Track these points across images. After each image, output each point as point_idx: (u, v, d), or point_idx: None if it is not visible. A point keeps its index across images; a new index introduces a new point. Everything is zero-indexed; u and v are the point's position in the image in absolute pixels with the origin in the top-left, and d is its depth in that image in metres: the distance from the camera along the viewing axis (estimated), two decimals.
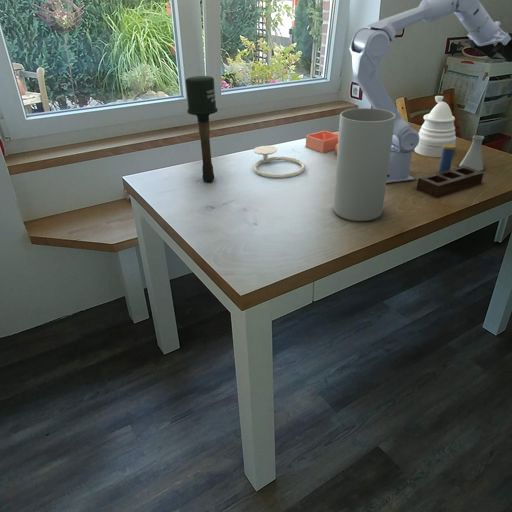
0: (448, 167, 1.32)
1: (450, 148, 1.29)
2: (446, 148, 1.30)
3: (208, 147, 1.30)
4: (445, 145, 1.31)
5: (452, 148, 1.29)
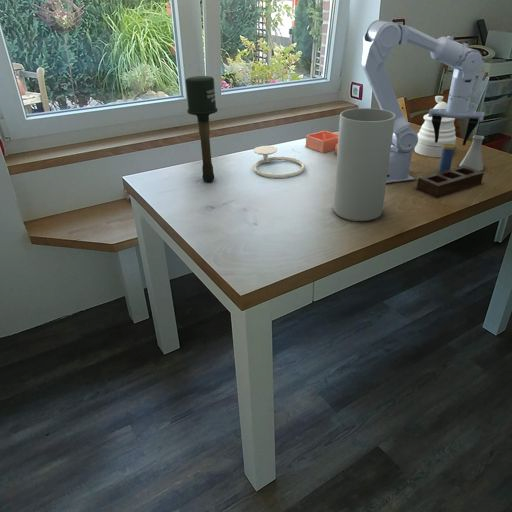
0: (448, 167, 1.32)
1: (450, 148, 1.29)
2: (446, 148, 1.30)
3: (208, 147, 1.30)
4: (445, 145, 1.31)
5: (452, 148, 1.29)
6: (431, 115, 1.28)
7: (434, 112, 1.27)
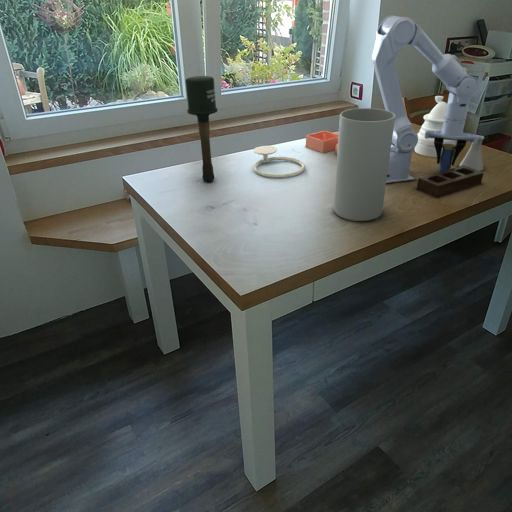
0: (448, 167, 1.33)
1: (450, 148, 1.29)
2: (446, 148, 1.30)
3: (208, 147, 1.30)
4: (445, 145, 1.31)
5: (452, 148, 1.29)
6: (427, 137, 1.31)
7: (430, 134, 1.30)
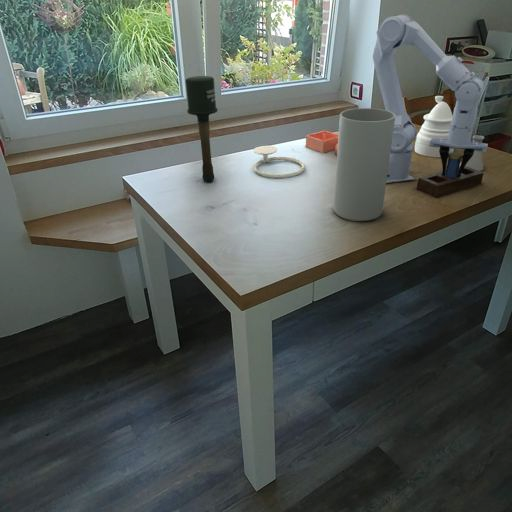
0: (454, 177, 1.24)
1: (456, 157, 1.21)
2: (452, 157, 1.21)
3: (208, 147, 1.30)
4: (451, 154, 1.22)
5: (459, 157, 1.21)
6: (432, 145, 1.23)
7: (435, 142, 1.22)
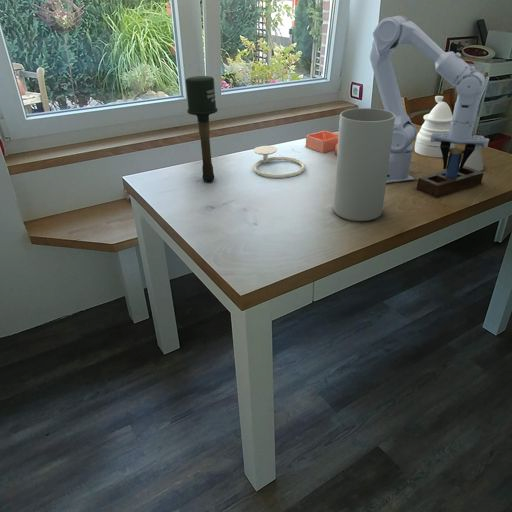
0: (455, 173, 1.23)
1: (458, 153, 1.20)
2: (453, 153, 1.20)
3: (208, 147, 1.30)
4: (452, 149, 1.21)
5: (460, 153, 1.20)
6: (433, 140, 1.22)
7: (436, 137, 1.21)
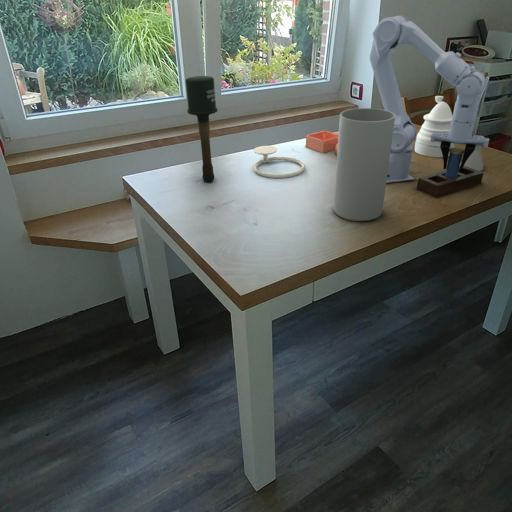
0: (455, 173, 1.23)
1: (458, 152, 1.20)
2: (453, 152, 1.20)
3: (208, 147, 1.30)
4: (452, 149, 1.21)
5: (460, 152, 1.20)
6: (433, 140, 1.22)
7: (436, 137, 1.21)
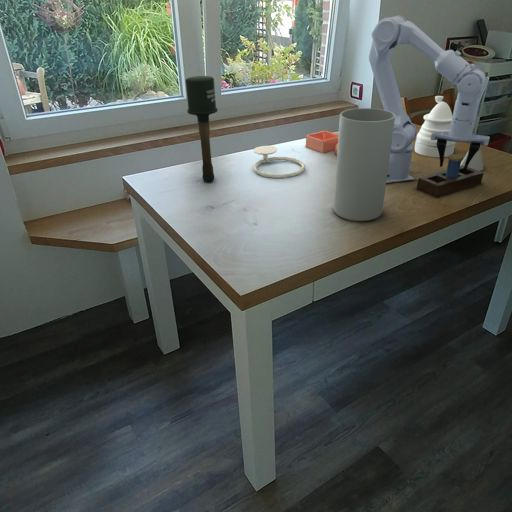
0: None
1: (457, 159, 1.21)
2: (452, 159, 1.21)
3: (208, 147, 1.30)
4: (451, 156, 1.22)
5: (459, 159, 1.21)
6: (433, 138, 1.22)
7: (437, 135, 1.21)
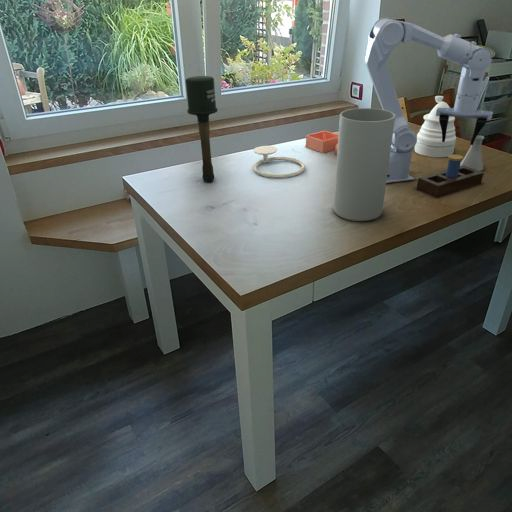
0: None
1: (457, 159, 1.21)
2: (452, 159, 1.21)
3: (208, 147, 1.30)
4: (451, 156, 1.22)
5: (459, 159, 1.21)
6: (438, 114, 1.26)
7: (441, 111, 1.25)
